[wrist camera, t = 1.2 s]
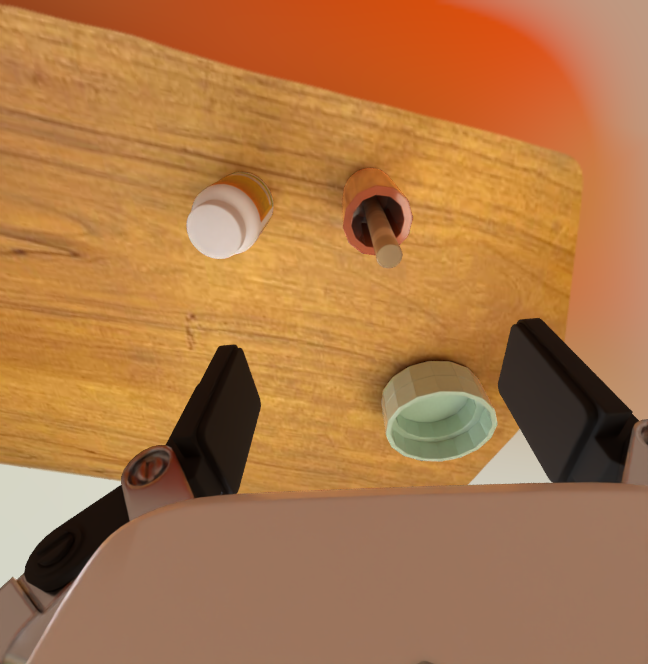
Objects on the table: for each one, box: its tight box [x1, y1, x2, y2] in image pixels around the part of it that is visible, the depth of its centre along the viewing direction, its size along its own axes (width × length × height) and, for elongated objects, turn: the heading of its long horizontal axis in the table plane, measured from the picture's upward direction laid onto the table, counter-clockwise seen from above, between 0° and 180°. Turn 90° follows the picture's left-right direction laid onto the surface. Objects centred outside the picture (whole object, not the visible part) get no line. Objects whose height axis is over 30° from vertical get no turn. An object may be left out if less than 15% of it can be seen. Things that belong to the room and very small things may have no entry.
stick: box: [362, 195, 402, 268], centre depth 23 cm, size 1×1×15 cm
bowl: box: [381, 361, 497, 461], centre depth 42 cm, size 13×13×6 cm
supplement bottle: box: [187, 172, 273, 259], centre depth 27 cm, size 5×5×10 cm
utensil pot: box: [342, 168, 413, 255], centre depth 26 cm, size 5×5×9 cm
